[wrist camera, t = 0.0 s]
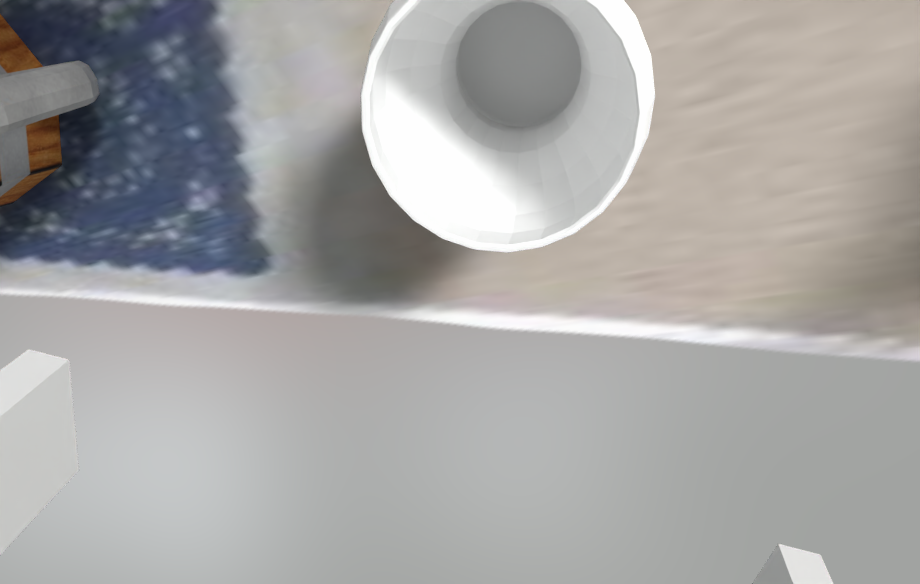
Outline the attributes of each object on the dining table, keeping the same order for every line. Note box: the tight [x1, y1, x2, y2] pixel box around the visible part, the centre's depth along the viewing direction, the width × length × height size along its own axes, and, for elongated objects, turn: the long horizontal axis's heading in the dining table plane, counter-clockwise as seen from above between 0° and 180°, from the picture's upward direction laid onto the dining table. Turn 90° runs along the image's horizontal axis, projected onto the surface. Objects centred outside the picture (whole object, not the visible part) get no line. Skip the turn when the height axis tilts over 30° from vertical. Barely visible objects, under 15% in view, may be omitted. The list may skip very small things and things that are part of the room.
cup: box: [360, 0, 655, 253], centre depth 28 cm, size 11×11×15 cm
